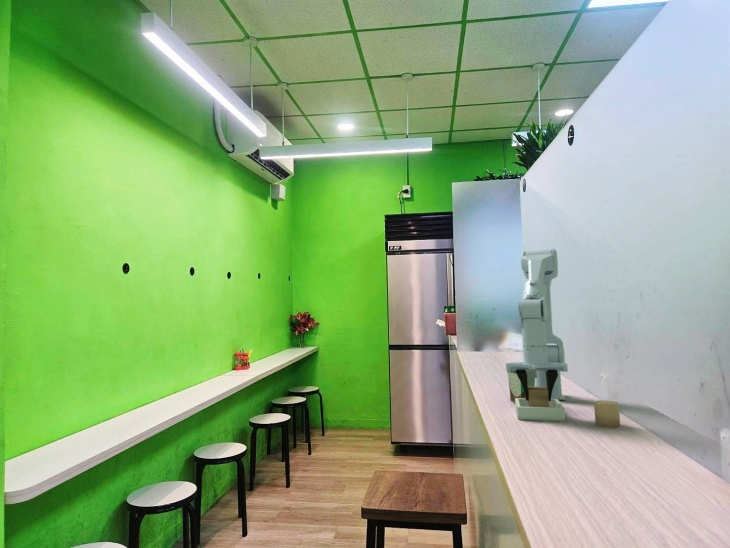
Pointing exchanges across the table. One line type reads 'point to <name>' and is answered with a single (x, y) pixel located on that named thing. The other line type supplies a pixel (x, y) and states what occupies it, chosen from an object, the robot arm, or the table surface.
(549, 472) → the table surface
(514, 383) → the food container
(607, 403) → the beige rounded block
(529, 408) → the counting tray
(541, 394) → the walnut block
